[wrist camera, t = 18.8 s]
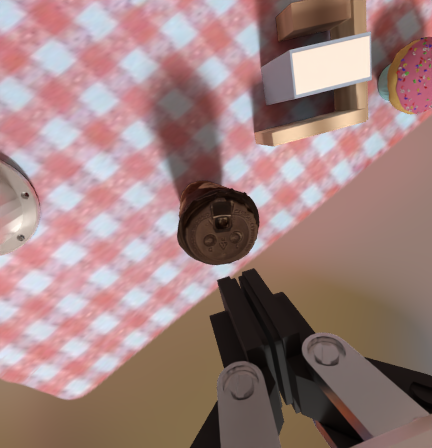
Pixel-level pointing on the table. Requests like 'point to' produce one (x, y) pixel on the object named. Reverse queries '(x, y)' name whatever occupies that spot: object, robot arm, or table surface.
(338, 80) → the grey rectangular block
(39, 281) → the table surface
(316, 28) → the rack
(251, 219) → the coffee cup
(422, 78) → the cupcake
